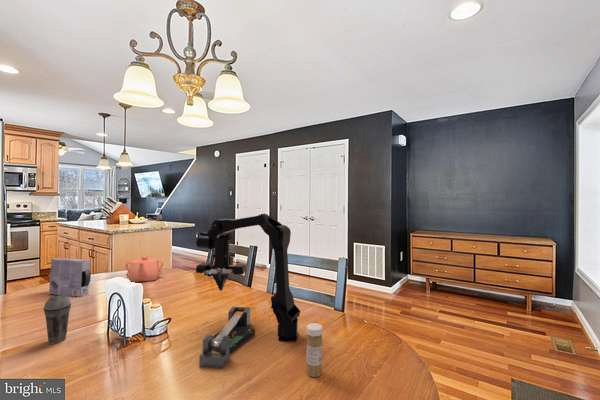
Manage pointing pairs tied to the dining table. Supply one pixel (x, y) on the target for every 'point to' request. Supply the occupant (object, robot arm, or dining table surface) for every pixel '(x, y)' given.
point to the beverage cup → (57, 316)
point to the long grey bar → (227, 329)
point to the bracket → (222, 342)
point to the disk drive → (236, 337)
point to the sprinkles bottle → (314, 349)
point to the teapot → (144, 269)
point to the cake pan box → (70, 277)
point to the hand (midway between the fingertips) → (221, 290)
